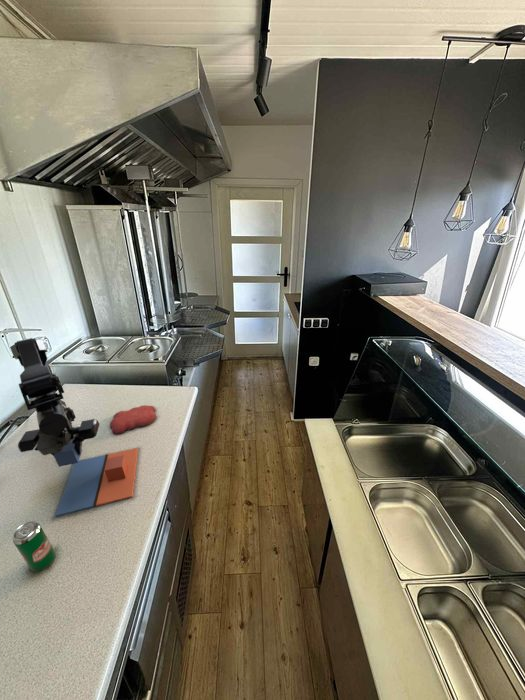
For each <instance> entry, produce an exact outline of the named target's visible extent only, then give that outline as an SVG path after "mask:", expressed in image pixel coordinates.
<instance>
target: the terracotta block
mask: <svg viewBox="0 0 525 700" xmlns="http://www.w3.org/2000/svg"><path fill="white" fill-rule="evenodd" d="M105 473H106V476H107V479H108V481H109V482H110V481H114V480H119V479H123V478H126V473H127V462H126V459H125V456H124V455H121V456H117V457H112V458H108V459H107V462H106V466H105Z"/></svg>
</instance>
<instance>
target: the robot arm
mask: <svg viewBox="0 0 525 700" xmlns="http://www.w3.org/2000/svg"><path fill="white" fill-rule="evenodd" d="M9 348H10V350H11V354H12V357H13V358H14V359H15V360H16V361H17V360H18V361H19V363H20V366H22V367H23V371H22V372H21V373H20V374H19V378H20V383H18V387H19V390H20V392H21V395H22V399H23V401H24V403H25V407H26V409H27V411H30V410H34V409H35V412H36V419H37V425H38V428H37V429H32V430H27V431H25V432H24V434H23V435H22V437H21V438H20V440H19V442H18V443H17V448H18V450H19V452H21V453H25V452H29V451H33V450H34V451H35V452H39V453H40V454H41V455H42V456H47V455H51V456H53V457H54V455H53V454H54V453H58V452H60V451H61V450H62V449H63V447H64V446H65V445H68V444H69V442H70V440H73V442H72V444H75V447H76V451H77V453H78V455H80V454H81V455H82V453H81V449H82V448H83V442H84V441H85V440H90V439H94V438H96V437H97V433H98V430H99V427H100V423H99V420H97V418H92V419H87V420H82V421H81V423H80V424H78V425H76V426H73V423H72V422H75V420H76V418H77V417H76V414H75V411H74V409H72V408H70V406H67V404H66V402H65V401H64V400H63V399H64V395H63V394H65V390H64V388H63V385H62V382H61V379H60V378H59V376H58V375H56V374H55V373H51V371H50V368H49V366H46V364H47V361H48V356H47V353H48V349H47V346H46V344H45V341H44V339H41V338H40V339H39V338H38V339H37V338H35V337H34V338H33V337H29V338H24V339H21V340H17V341H15V342H14V344H12V345H11V346H10V347H9ZM56 391H58V392H56ZM82 450H83V449H82Z"/></svg>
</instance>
